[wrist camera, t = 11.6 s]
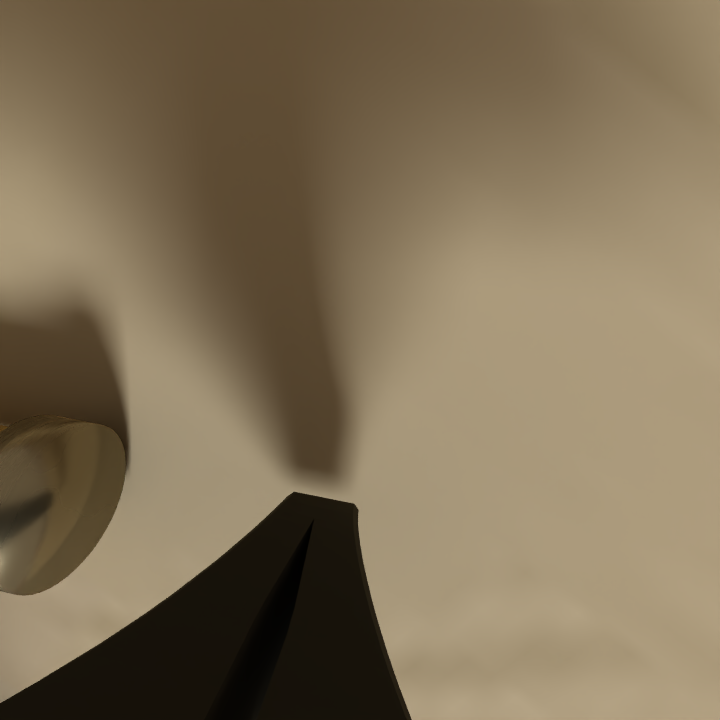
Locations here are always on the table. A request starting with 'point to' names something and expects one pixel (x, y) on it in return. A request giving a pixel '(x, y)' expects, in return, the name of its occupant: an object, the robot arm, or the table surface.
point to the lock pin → (54, 497)
